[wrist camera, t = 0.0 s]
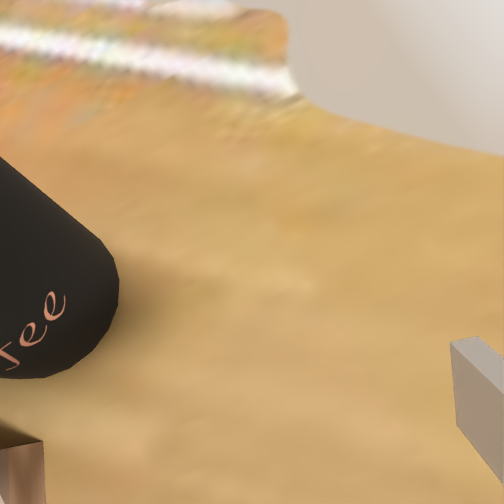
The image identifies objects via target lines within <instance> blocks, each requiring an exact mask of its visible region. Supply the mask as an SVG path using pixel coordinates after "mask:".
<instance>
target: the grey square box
mask: <svg viewBox="0 0 504 504" xmlns="http://www.w3.org/2000/svg"><path fill="white" fill-rule="evenodd" d="M0 495H1V497H2V499H3V501H4V503H5V504H46V501H45V477H44V452H43V441H42V442H37V443H32V444H26V445H21V446H16V447H11V448H6V449H2V450H0Z"/></svg>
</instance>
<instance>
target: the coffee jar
mask: <svg viewBox="0 0 504 504" xmlns="http://www.w3.org/2000/svg"><path fill="white" fill-rule="evenodd" d="M118 293H119V277H118V273H117V270H116V266H115V262H114V258H113V257H112V255H111V254H110V253H109V251H108V250H107V248H106V247H105V245H104V244H103V243H102V241H101V240H100V239H99V238H97V237H96V236H95V235H94V234H93V233H91V232H90V231H89V230H88V229H87V228H85V227H84V226H83V225H82V224H81V223H79V222H78V221H77V220H76V219H75V218H73V217H72V216H71V215H70V214H69V213H67V212H66V211H65V210H64V209H63V208H61V207H60V206H59V205H58V204H57V203H55V202H54V201H53V200H52V199H51V198H49V197H48V196H47V195H46V194H45V193H43V192H42V191H41V190H40V189H39V188H37V187H36V186H35V185H34V184H33V183H31V182H30V181H29V180H28V179H27V178H25V177H24V176H23V175H22V174H21V173H19V172H18V171H17V170H16V169H15V168H13V167H12V166H11V165H10V164H9V163H7V162H6V161H5V160H4V159H3V158H1V157H0V378H9V379H31V378H45V377H48V376H51V375H53V374H56V373H58V372H61V371H64V370H66V369H69V368H71V367H72V366H73V365H75V364H76V363H77V362H78V361H80V360H81V359H82V358H84V357H85V356H86V355H88V354H89V353H90V352H92V351H93V349H94V348H95V347H96V345H97V344H98V343H99V341H100V340H101V339H102V337H103V336H104V335H105V333H106V332H107V331H108V329H109V327H110V325H111V322H112V319H113V317H114V314H115V311H116V309H117V306H118Z"/></svg>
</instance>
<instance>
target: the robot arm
mask: <svg viewBox="0 0 504 504" xmlns="http://www.w3.org/2000/svg"><path fill="white" fill-rule="evenodd" d="M450 352H451V363H452V375H453V387H454V398H455V410H456V422H457V426H458V427H459V429H460V430H461V431H462V433H463V434H464V435H465V437H466V438H467V439H468V440H469V442H470V443H471V444H472V446H473V447H474V448H475V449H476V451H477V452H478V453H479V455H480V456H481V457H482V458H483V460H484V461H485V462H486V464H487V465H488V466H489V467H490V469H491V470H492V471H493V473H494V474H495V475H496V476H497V478H498V479H499V480H500V482H501V483H502V484H503V485H504V358H503V357H502V356H501V355H500V354H498V353H497V352H496V351H495V350H494V349H492V348H491V347H490V346H489V345H487V344H486V343H485V342H484V341H483V340H481V339H480V338H479V337H478V336H476V337H471V338H467V339H462V340H458V341H453V342H450ZM0 504H5V503H4V501H3V499H2V497H1V495H0Z"/></svg>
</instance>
